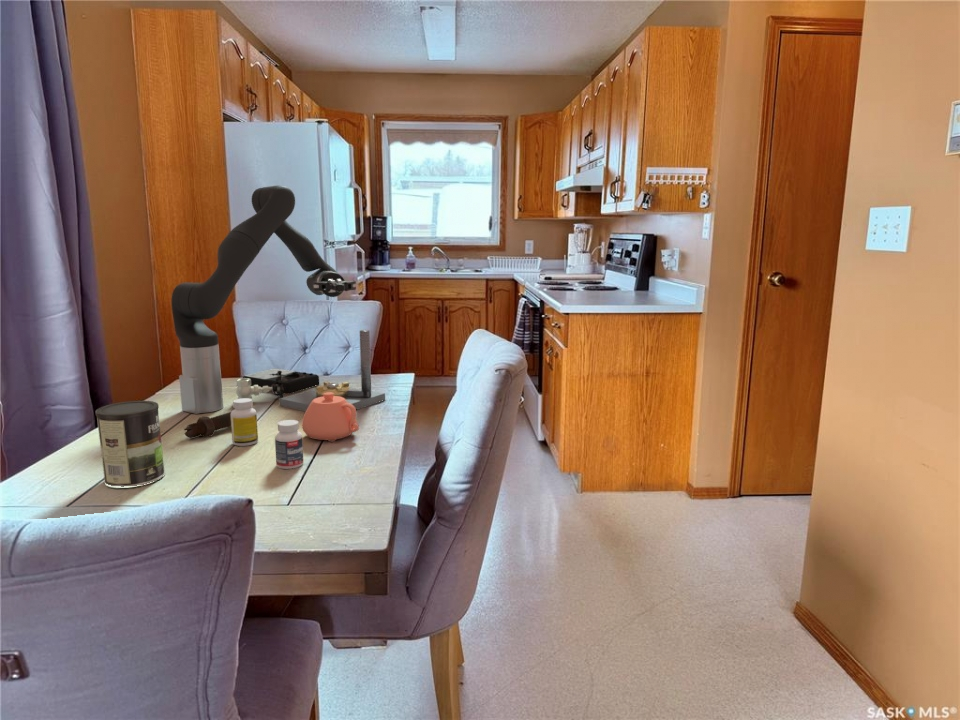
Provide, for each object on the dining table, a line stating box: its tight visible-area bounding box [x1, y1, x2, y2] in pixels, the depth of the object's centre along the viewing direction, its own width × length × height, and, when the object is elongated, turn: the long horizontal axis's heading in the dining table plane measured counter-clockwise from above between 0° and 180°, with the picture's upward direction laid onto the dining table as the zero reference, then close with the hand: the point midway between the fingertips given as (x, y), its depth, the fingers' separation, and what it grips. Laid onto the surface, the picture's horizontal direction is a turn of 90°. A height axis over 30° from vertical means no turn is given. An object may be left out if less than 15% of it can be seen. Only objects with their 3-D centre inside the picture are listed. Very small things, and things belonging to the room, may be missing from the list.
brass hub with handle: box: [315, 329, 372, 398], centre depth 172 cm, size 15×9×18 cm, turn 83°
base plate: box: [278, 386, 386, 412], centre depth 174 cm, size 20×20×2 cm
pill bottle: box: [274, 419, 304, 470], centre depth 127 cm, size 5×5×9 cm
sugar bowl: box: [301, 392, 360, 442], centre depth 145 cm, size 12×14×10 cm
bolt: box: [183, 407, 235, 439], centre depth 149 cm, size 6×5×15 cm
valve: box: [235, 376, 285, 400], centre depth 176 cm, size 7×7×12 cm
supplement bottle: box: [230, 398, 259, 447], centre depth 141 cm, size 5×5×10 cm
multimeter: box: [242, 368, 320, 395], centre depth 194 cm, size 13×19×5 cm
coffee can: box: [95, 400, 166, 487], centre depth 119 cm, size 10×10×14 cm
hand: (340, 288), depth 179 cm, fingers closed
